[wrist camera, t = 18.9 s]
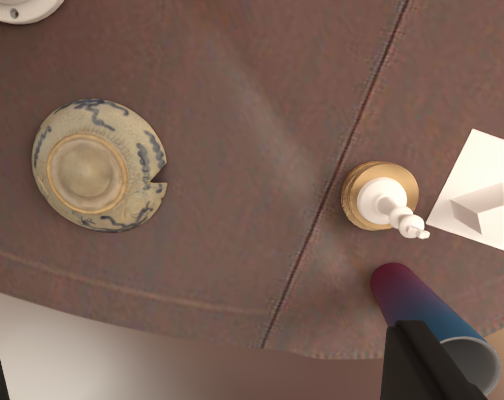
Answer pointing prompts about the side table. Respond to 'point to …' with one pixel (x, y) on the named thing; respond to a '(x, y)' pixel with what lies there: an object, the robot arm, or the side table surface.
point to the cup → (436, 323)
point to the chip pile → (366, 174)
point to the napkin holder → (474, 193)
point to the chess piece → (389, 207)
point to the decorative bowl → (99, 165)
